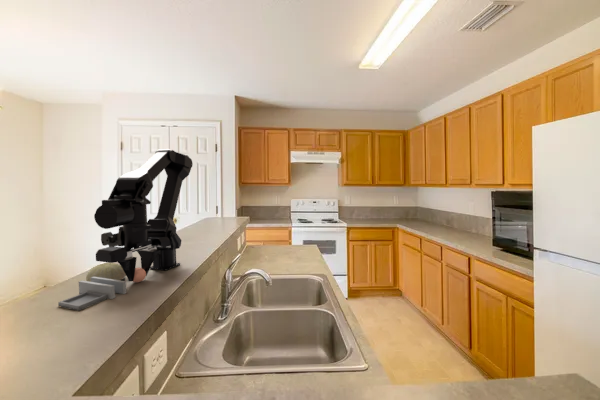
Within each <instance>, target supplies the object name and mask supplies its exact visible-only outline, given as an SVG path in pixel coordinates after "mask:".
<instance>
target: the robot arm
mask: <svg viewBox="0 0 600 400" xmlns="http://www.w3.org/2000/svg"><path fill="white" fill-rule="evenodd" d="M154 152H155V153H154V154H153V155H152V156H151V157H149V158H148V159H147V161H145V162H144V163H143V164H142V165H141V166H140V167H139V168H137V169H135V170H133V171H129V172H126V173H124V174H123V175H121V176H119V177H118V178H117V179H116V181H115V185H114V186H113V188H112V190H111V193H110V194H109V197H108V199H102V200H101V205H100V206H98V208H96V211H95V213H94V221H95V223H96V225H97V226H98V227H100V228H102V229H105V230H110V229H113V228H116V227H117V228H118V227H119V228H118V232H117V233H112V232H111V231H108V232H104V233H102V234H100V241H101V244H102V246H105V247H103V248H100V249H97V251H96V252H95V262H103V263H117V264H119V265H121V267H122V268H123V270H124V272H125V274H126V276H125V277H126V278H127V280H128V281H129V282H133V280H134V275H135V268H137V266H136V265H137V259H138V257H137V256H133V253H134V252H137V253H138V255H139V256H140V266H141V267H140V268H143V269H144V270H145V271H146V277H147V275H148V273H149V271H150V269H152V270H157V271H159V270H160V271H168V270H171V269H173V268H175V267H178V266H180V265H181V263H180V262H177V249H180V247H181V246H182V239H181V238H180V236H179V234H177V226H176V223H175V221H174V219H175V218H174V217H175V213H176V210H177V205H178V202H179V198H180V193H181V189H182V185H183V181H184V180H185V179H186V178H187V177H188V176H189V175H190V173H191V171H192V168H193V160H192V158H190V156H189V155H186V154H183V153H180V152H177V151H175V150H173V149H171V148H166V149H165V148H164V149H162V148H159V149H157V150H156V151H154ZM163 171H164V172H165V173H166V181H165V183H164V187H163V191H162V195H161V200H160V203H159V207H158V211H157V214H156V216H155V217H154V218H149V219H148V213H147V211H148V210H147V205H151V203H152V202H151V200H149V199H148V198H147V196H148V195H150V192H151V191H152V189H153V188H154V183H153V182H154V180H155V179H156V178H157V177H158V176H159V175H160V174H161V173H162V172H163ZM106 246H108V247H106Z"/></svg>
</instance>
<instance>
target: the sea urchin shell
mask: <svg viewBox="0 0 600 400" xmlns="http://www.w3.org/2000/svg"><path fill="white" fill-rule="evenodd" d="M91 277H101V278H108V279H114V280H121V281H123V280H124V279H125V278H126V277H127V276H126V274H125V272H124V270H123V268H122V267H121V265H120V264H119V263H116V262H114V263H109V262H103V263H99V264H97V265H95V266H93V267H92V268H91V269H90V270H89V271H88V272H87V274H86V277H85V281H89V282H91Z"/></svg>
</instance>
